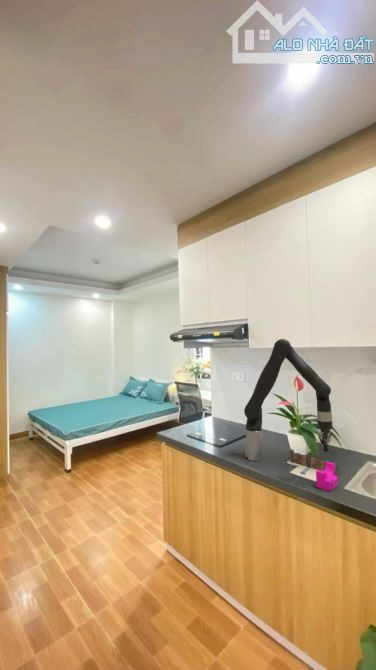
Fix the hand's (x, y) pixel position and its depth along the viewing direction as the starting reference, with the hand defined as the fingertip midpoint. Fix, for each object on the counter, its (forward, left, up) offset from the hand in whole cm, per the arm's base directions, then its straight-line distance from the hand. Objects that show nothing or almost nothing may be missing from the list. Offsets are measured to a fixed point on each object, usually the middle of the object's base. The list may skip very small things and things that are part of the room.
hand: (326, 451), depth 151 cm
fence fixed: (-12, -6, -9) cm, 16 cm away
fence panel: (-1, -6, -9) cm, 11 cm away
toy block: (+7, -17, -10) cm, 20 cm away
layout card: (-8, -11, -9) cm, 16 cm away
